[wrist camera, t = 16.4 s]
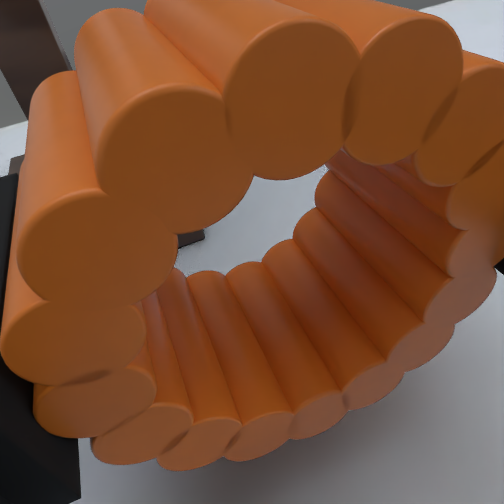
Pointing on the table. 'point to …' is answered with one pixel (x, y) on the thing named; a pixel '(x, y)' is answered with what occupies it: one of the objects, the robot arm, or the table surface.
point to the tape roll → (226, 199)
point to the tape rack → (36, 62)
